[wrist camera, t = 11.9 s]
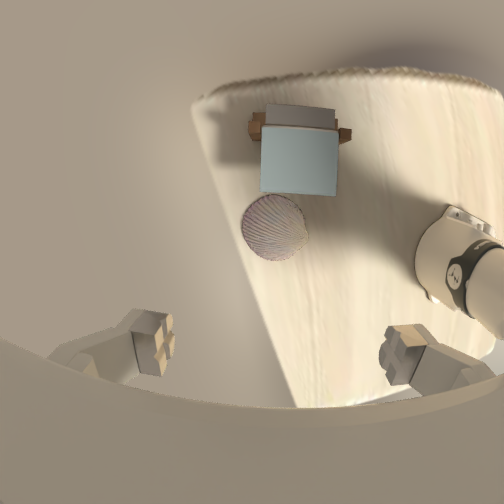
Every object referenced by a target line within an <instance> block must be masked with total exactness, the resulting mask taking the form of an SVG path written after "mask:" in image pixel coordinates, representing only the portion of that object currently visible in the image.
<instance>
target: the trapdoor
mask: <svg viewBox="0 0 504 504" xmlns="http://www.w3.org/2000/svg"><path fill="white" fill-rule="evenodd" d="M334 129H335V110H334V109H326V108H317V107H307V106H295V105H280V104H266V125H263V127H262V144H261V173H260V192H275V193H294V194H309V195H322V196H335V197H336V187H337V169H338V142H339V133H338V131H334Z"/></svg>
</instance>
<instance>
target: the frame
mask: <svg viewBox="0 0 504 504" xmlns="http://www.w3.org/2000/svg"><path fill="white" fill-rule="evenodd" d="M263 125H266V113H253V121H249V129H248V132H249V134H250V136H251V139H252V140H255V141H262V127H263ZM334 131H338V133H339V142H338V145H340V144H342V143H345V142H348V141H350V140H351V133H352V129H345V128H340V129H338V119H335V129H334Z"/></svg>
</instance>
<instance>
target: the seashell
mask: <svg viewBox="0 0 504 504" xmlns="http://www.w3.org/2000/svg"><path fill="white" fill-rule="evenodd" d="M244 218H245V219H244V221H243V225H242V226H243V229H242V230H243V231H244V232H243V234H244V235H245V237H244V238H245V240H246V242H247V243H248V245H249V246H250V248H251V249H252V250H253V251H254V252H255V253H256V254H257V255H259V256H260V257H262V258H264V259H267V260H271V261H276V260H277V261H278V260H285V259H287V258H288V259H289V257H291V256H292V255H293V254H294V253H295V252H296V251H297V250H299V249H300V248H301V247H303V246H304V245H305V244H306V243H307V241H308V238H309V235H308V232H307V230H306V228H305V218H303V215H302V212H301V210H299V208H298V205H295V204H294V203H293V201H290V200H289V199H287V198H283V197H282V196H279V195H269V196H265V197H264V198H260V200H258V201H256V202H255V203H254V205H253V204H252V206H251V207H250V208H249V209H248V212H246V215H244Z"/></svg>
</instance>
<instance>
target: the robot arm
mask: <svg viewBox="0 0 504 504" xmlns="http://www.w3.org/2000/svg"><path fill="white" fill-rule="evenodd" d="M456 213H457V216H456ZM415 271H416V275H417V278H418V280H419V282H420V284H421V285H422V286H423V287H424V288H425V289H426V290H427V292H428V296H429V299H430V301H431V302H433V303H434V304H437V303H440V302H441V303H443V304H444V305H446V306H447V307H448V308H450V309H451V310H453V311H457V310H461V311H462V312H463V313H464V314H465V315H468V316H469V317H470V318H473V319H476V320H477V321H479V322H480V323H481V324H482V325H483V326H484V327H485V328H486V329H487V330H488V331H490V332H491V333H492V334H493V335H494V336H495V337H496V338H498V339H500V340H504V247H503V243H502V241H500V240H498V239H496V233H495V229H494V227H493V226H490V225H489V224H487V223H485V222H483V221H481V220H479V219H478V218H476V217H474V216H472V215H470V214H468V213H466V212H464V211H462V210H460V209H458V208H456V207H454V206H449V207H448V208H447V210H446V211H445V213H444V214H443V216H442V217H441V218H440V219H439V220H438V221H436V222H435V223H433V224H432V225H431V226H430V227H429V228H428V229H427V230H426V232H425V233H424V235H423V236H422V238H421V240H420V242H419V245H418V248H417V251H416V256H415ZM172 326H173V320H172V316H171V314H167V313H161V312H154V311H148V310H143V309H132V310H131V311H130V312H129V313H128V314H127V315H126V316H125V317H124V319H123V320H122V321H121V322H120V323H119V324H118V325H117V327H115V328H108V329H105V330H103V331H100V332H97V333H94V334H91V335H88V336H85V337H82V338H79V339H76V340H73V341H70V342H67V343H63V344H61V345H59V346H58V347H57V348H56V349H55V350H54V351H53V352H52V353H51V354H50V355H49V356H48V357H47V358H43V357H41V356H39V355H36V354H34V353H32V352H30V351H28V350H25V349H23V348H21V347H19V346H17V345H15V344H13V343H11V342H9V341H7V340H5V339H3V338H1V337H0V504H504V374H501V375H498V376H496V375H495V374H494V373H493V372H492V371H491V369H490V368H489V367H488V366H487V365H486V364H485V363H483V362H481V361H479V360H477V359H475V358H473V357H471V356H468V355H466V354H464V353H462V352H460V351H457V350H455V349H453V348H451V347H449V346H447V345H444V344H439V343H438V342H437V340H436V339H435V338H434V337H433V336H432V335H431V334H430V332H429V331H428V330H427V329H426V328H425V327H424V326H423V325H422V324H412V325H397V326H388V328H387V329H386V332H385V335H384V336H385V339H386V341H385V342H384V343H383V344H382V345H381V347H380V351H379V362H380V365H381V367H382V368H383V369H385V370H386V371H387V372H386V374H385V375H386V377H387V379H388V381H389V383H390V385H391V386H394V385H404V384H409V385H410V386H411V387H413V388H414V389H415V390H417V391H418V392H419V393H420V394H421V395H423V396H422V397H416V398H411V399H405V400H400V401H392V402H385V403H377V404H368V405H358V406H345V407H327V408H272V407H254V406H239V405H230V404H221V403H212V402H205V401H198V400H192V399H185V398H180V397H174V396H169V395H164V394H159V393H154V392H150V391H145V390H141V389H137V388H133V387H129V386H125V385H124V384H125V383H127V382H128V381H130V380H131V379H133V378H135V377H136V376H137V375H139V374H140V373H143V374H148V375H154V376H159V377H161V376H162V375H163V373H164V371H165V369H166V367H167V361H166V360H168V359H170V358H171V356H172V354H173V351H174V344H175V339H174V334H173V333H172V331H171V330H170V329H171V327H172Z"/></svg>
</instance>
